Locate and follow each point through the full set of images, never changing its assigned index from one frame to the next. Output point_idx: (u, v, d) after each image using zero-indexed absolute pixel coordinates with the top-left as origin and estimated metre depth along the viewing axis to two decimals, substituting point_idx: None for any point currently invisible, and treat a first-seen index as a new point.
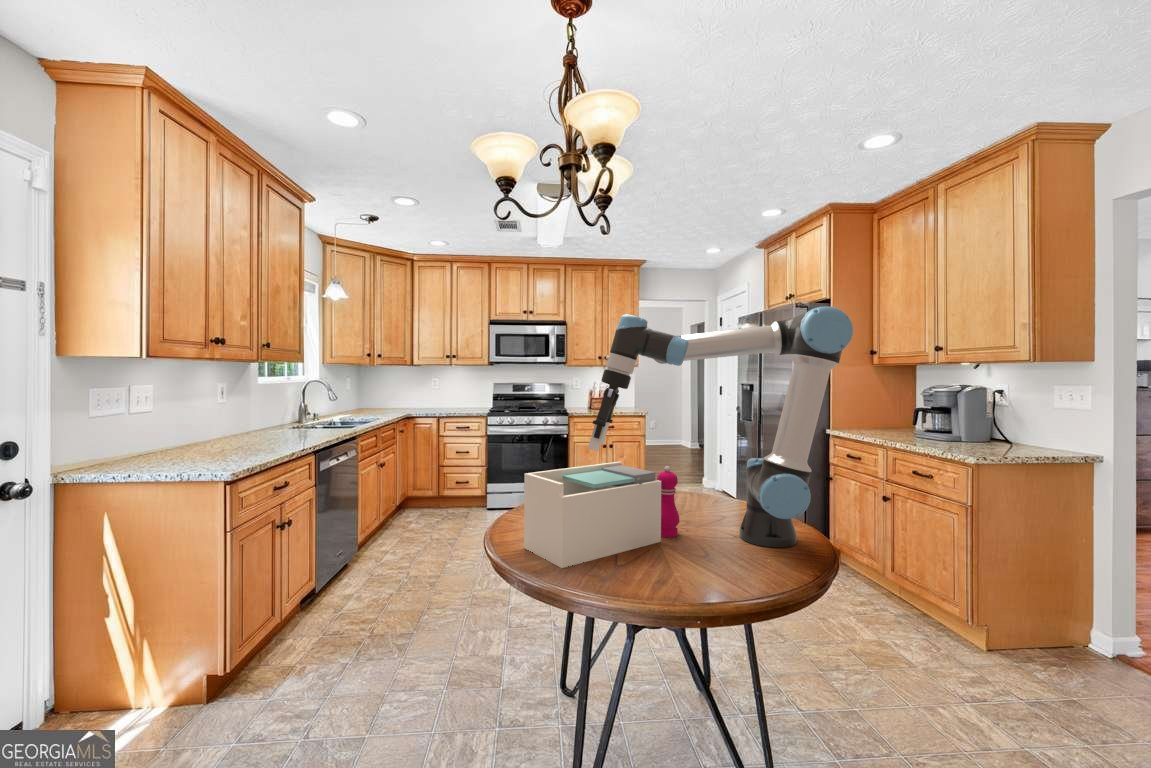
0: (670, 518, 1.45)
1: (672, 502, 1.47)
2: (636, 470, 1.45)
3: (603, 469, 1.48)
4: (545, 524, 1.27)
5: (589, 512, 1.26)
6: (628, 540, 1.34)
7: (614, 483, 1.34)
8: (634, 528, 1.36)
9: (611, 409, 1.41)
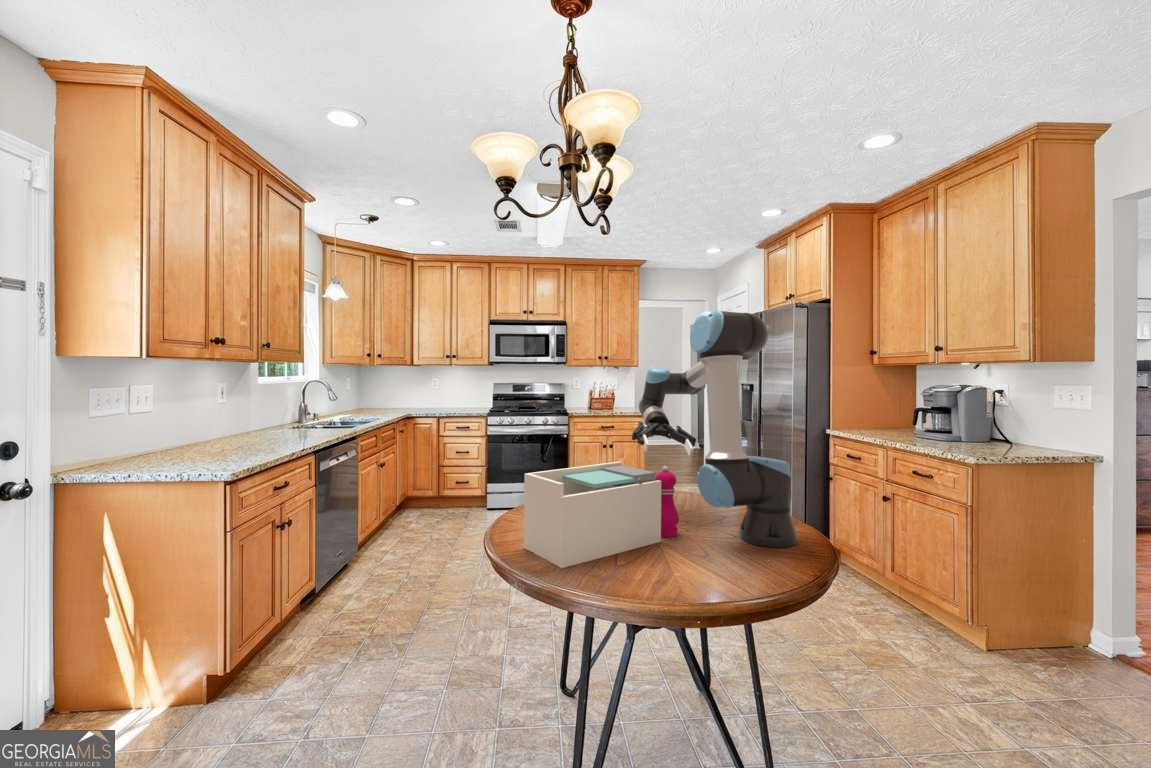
0: (670, 517, 1.45)
1: (671, 502, 1.47)
2: (636, 470, 1.45)
3: (603, 469, 1.48)
4: (545, 524, 1.27)
5: (589, 512, 1.26)
6: (628, 540, 1.34)
7: (614, 483, 1.34)
8: (634, 528, 1.36)
9: (675, 433, 1.62)
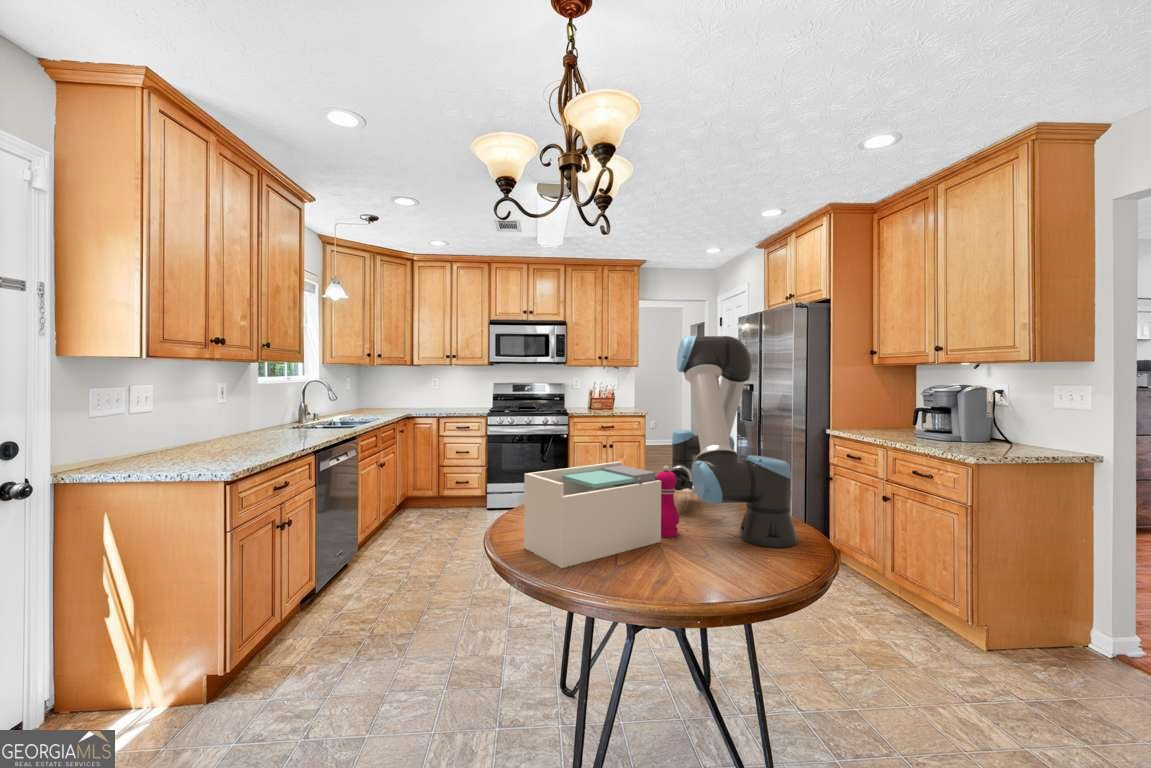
0: (670, 517, 1.45)
1: (671, 502, 1.47)
2: (636, 470, 1.45)
3: (603, 469, 1.48)
4: (545, 524, 1.27)
5: (589, 512, 1.26)
6: (628, 540, 1.34)
7: (614, 483, 1.34)
8: (634, 528, 1.36)
9: (687, 481, 1.66)
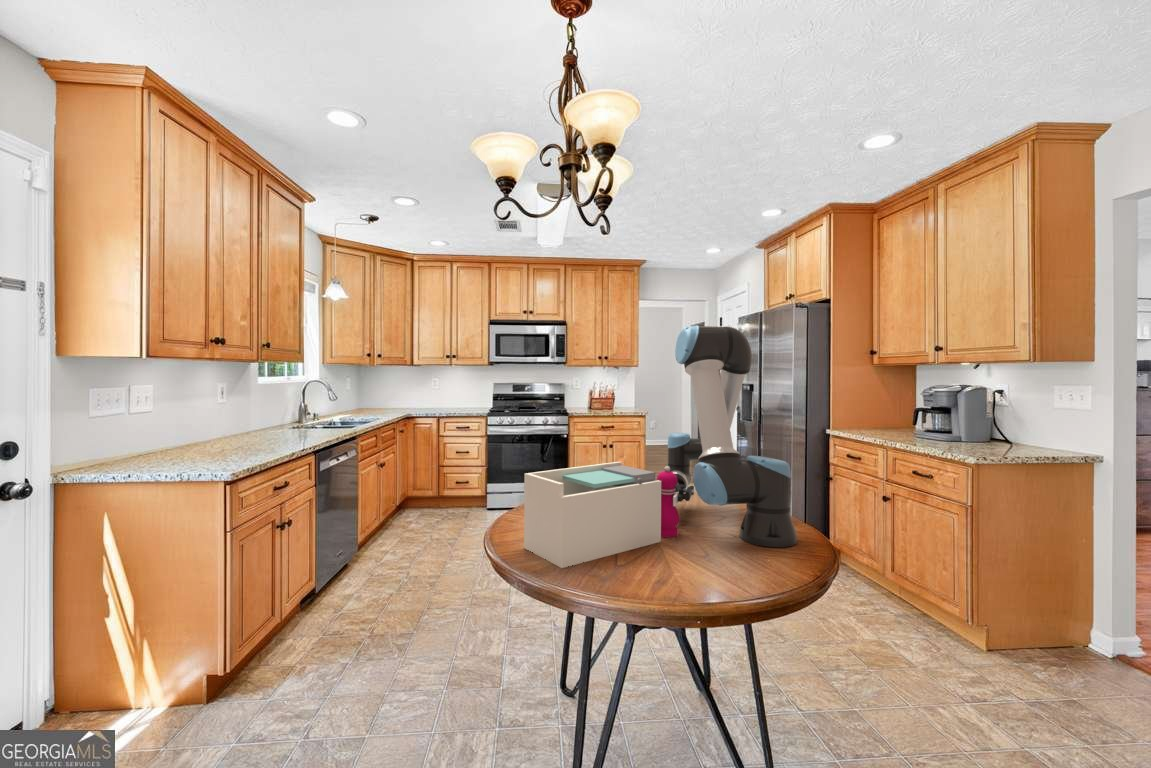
0: (670, 518, 1.45)
1: (672, 502, 1.47)
2: (636, 470, 1.45)
3: (603, 469, 1.48)
4: (545, 524, 1.27)
5: (589, 512, 1.26)
6: (628, 540, 1.34)
7: (614, 483, 1.34)
8: (634, 528, 1.36)
9: (676, 489, 1.54)
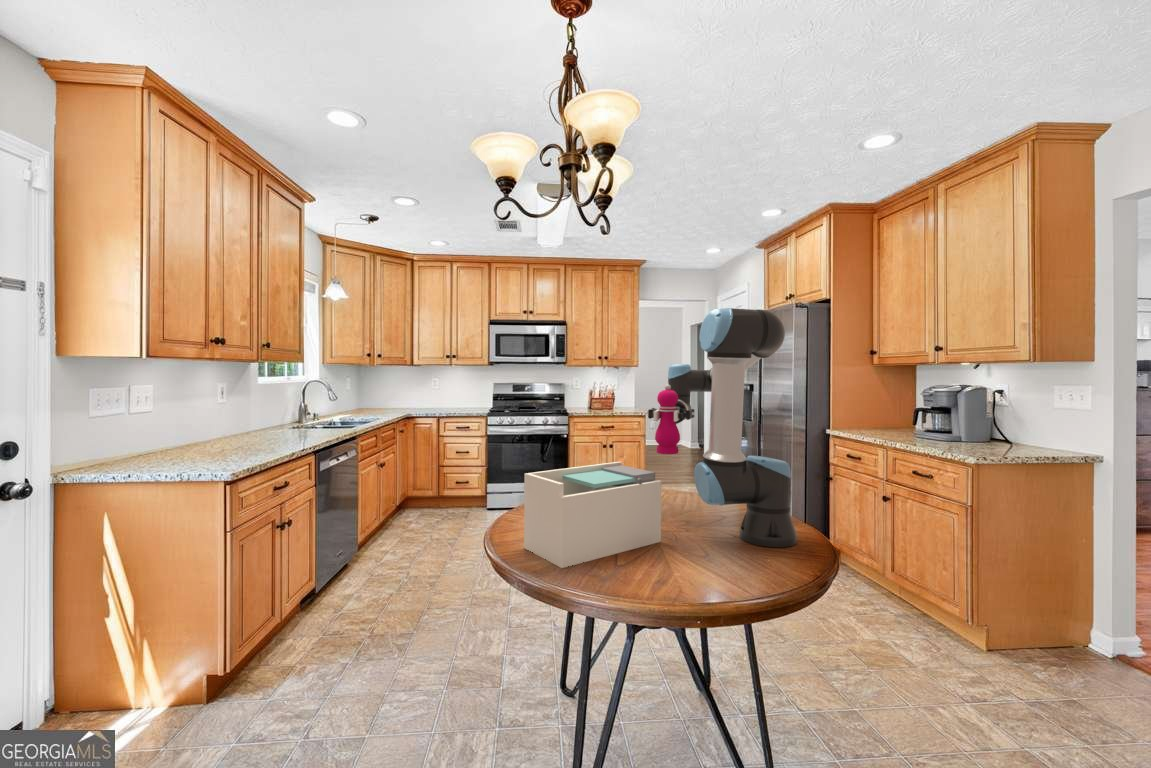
0: (671, 434, 1.45)
1: (672, 420, 1.47)
2: (636, 470, 1.45)
3: (603, 469, 1.48)
4: (545, 524, 1.27)
5: (589, 512, 1.26)
6: (628, 540, 1.34)
7: (614, 483, 1.34)
8: (634, 528, 1.36)
9: (677, 410, 1.54)
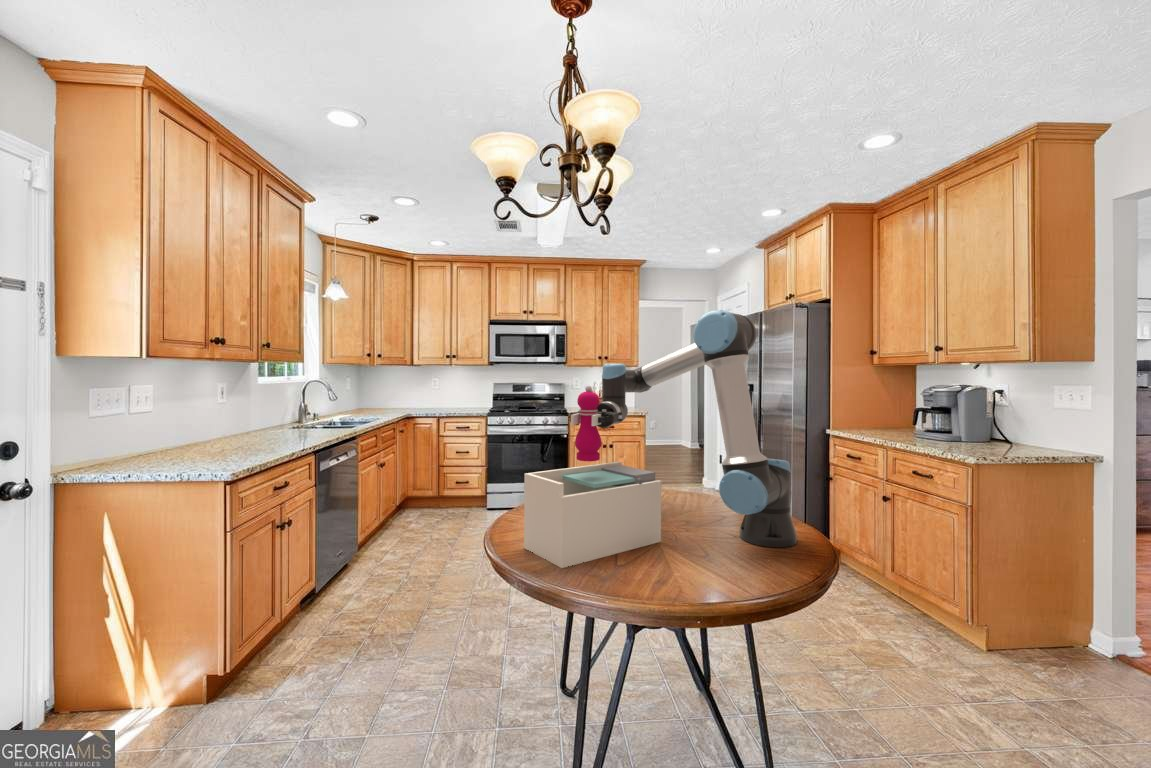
0: (590, 440, 1.34)
1: None
2: (636, 470, 1.45)
3: (603, 469, 1.48)
4: (545, 524, 1.27)
5: (589, 512, 1.26)
6: (628, 540, 1.34)
7: (614, 483, 1.34)
8: (634, 528, 1.36)
9: None
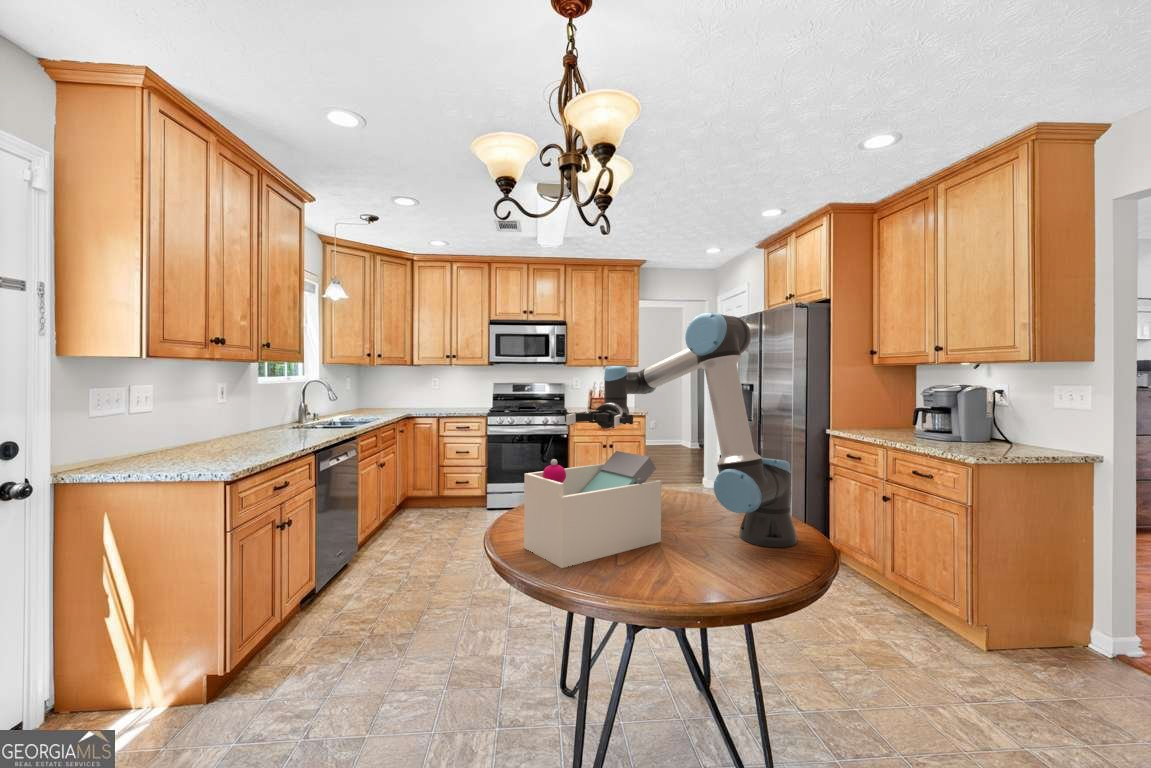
0: None
1: None
2: (631, 460, 1.44)
3: (602, 470, 1.48)
4: (545, 524, 1.27)
5: (589, 512, 1.26)
6: (628, 540, 1.34)
7: None
8: (634, 528, 1.36)
9: (614, 414, 1.48)
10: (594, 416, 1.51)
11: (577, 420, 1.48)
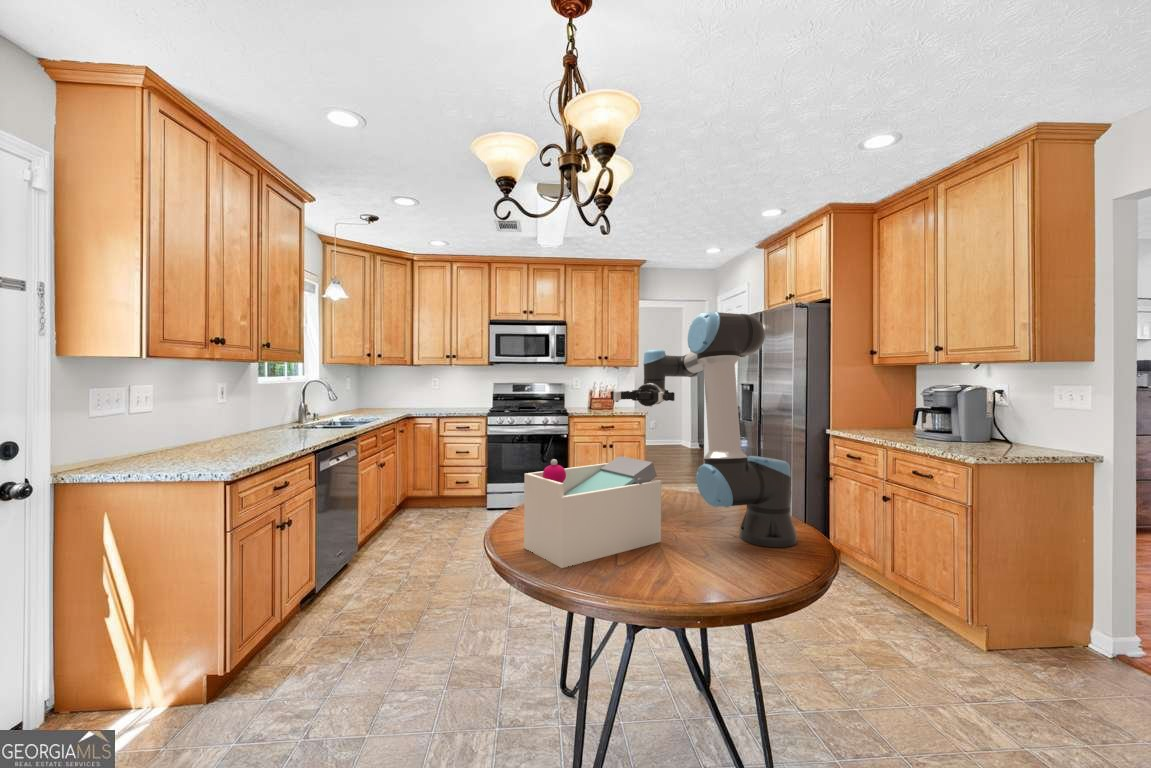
0: None
1: None
2: (634, 463, 1.45)
3: (602, 469, 1.48)
4: (545, 524, 1.27)
5: (589, 512, 1.26)
6: (628, 540, 1.34)
7: None
8: (634, 528, 1.36)
9: (656, 392, 1.61)
10: (637, 394, 1.64)
11: (622, 398, 1.61)
